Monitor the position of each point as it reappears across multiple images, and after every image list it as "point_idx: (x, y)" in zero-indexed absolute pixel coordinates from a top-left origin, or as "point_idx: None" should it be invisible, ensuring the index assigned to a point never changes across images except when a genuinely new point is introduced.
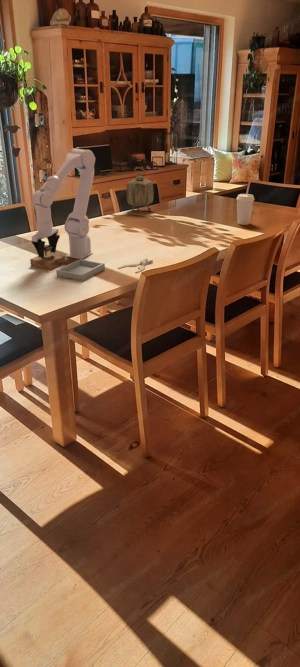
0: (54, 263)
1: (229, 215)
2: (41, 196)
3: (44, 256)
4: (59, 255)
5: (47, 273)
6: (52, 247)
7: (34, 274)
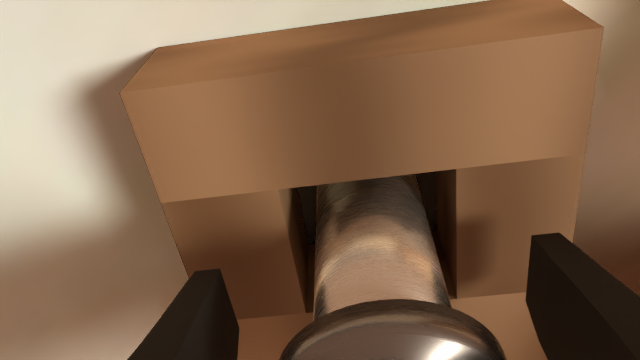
0: None
1: None
2: None
3: (316, 264)
4: None
5: None
6: (568, 347)
7: (30, 288)
